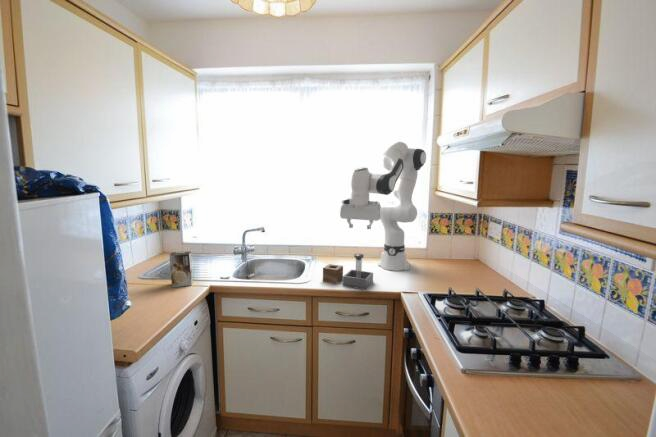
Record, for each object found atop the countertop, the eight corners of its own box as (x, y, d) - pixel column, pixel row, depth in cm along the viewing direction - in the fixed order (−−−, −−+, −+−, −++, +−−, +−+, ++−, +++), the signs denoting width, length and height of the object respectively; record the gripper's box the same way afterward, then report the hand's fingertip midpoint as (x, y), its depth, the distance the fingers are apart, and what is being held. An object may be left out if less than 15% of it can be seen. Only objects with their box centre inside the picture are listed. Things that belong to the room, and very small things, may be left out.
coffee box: (193, 281, 161) (191, 251, 158) (191, 285, 155) (189, 254, 152) (173, 283, 158) (171, 252, 156) (171, 287, 152) (169, 255, 150)
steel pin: (355, 279, 162) (356, 253, 160) (363, 281, 160) (364, 254, 158) (352, 282, 158) (353, 255, 156) (361, 284, 156) (361, 256, 154)
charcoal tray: (351, 278, 167) (351, 269, 167) (372, 281, 162) (373, 272, 162) (342, 285, 156) (343, 276, 156) (365, 289, 152) (366, 279, 151)
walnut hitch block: (329, 276, 170) (329, 264, 169) (342, 278, 167) (343, 265, 166) (322, 280, 163) (323, 268, 162) (337, 283, 160) (337, 270, 159)
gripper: (382, 200, 154) (381, 228, 156) (343, 199, 162) (343, 225, 164) (379, 202, 148) (378, 230, 150) (338, 200, 156) (339, 227, 158)
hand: (359, 228), depth 157 cm, fingers open, 8 cm apart
